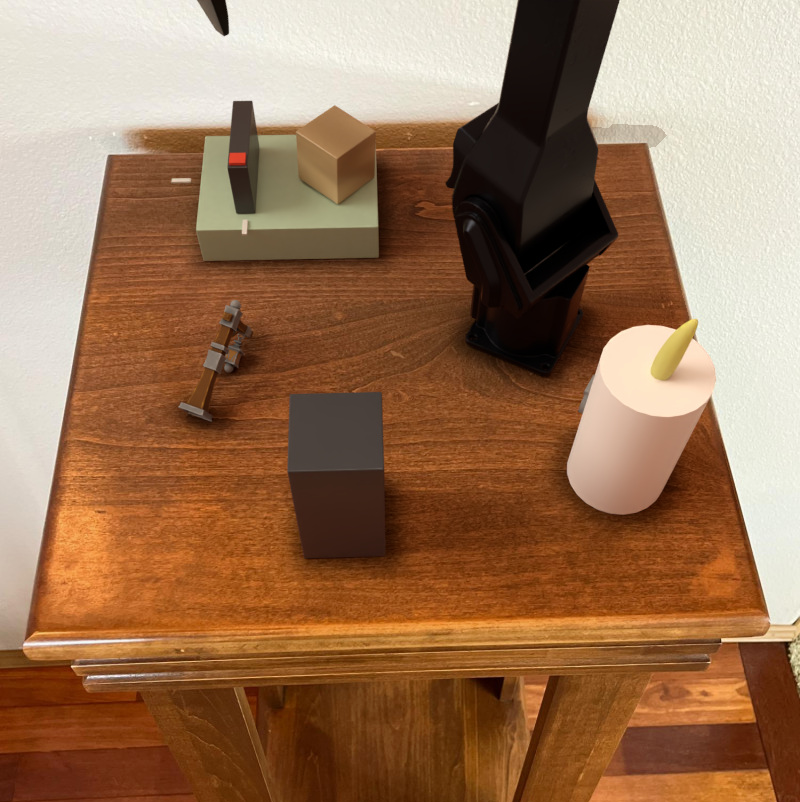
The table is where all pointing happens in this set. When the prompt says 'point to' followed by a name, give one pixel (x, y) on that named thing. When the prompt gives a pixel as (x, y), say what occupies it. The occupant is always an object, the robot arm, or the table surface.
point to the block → (336, 154)
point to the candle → (639, 416)
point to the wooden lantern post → (219, 360)
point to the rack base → (280, 210)
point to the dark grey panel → (243, 157)
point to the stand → (337, 473)
